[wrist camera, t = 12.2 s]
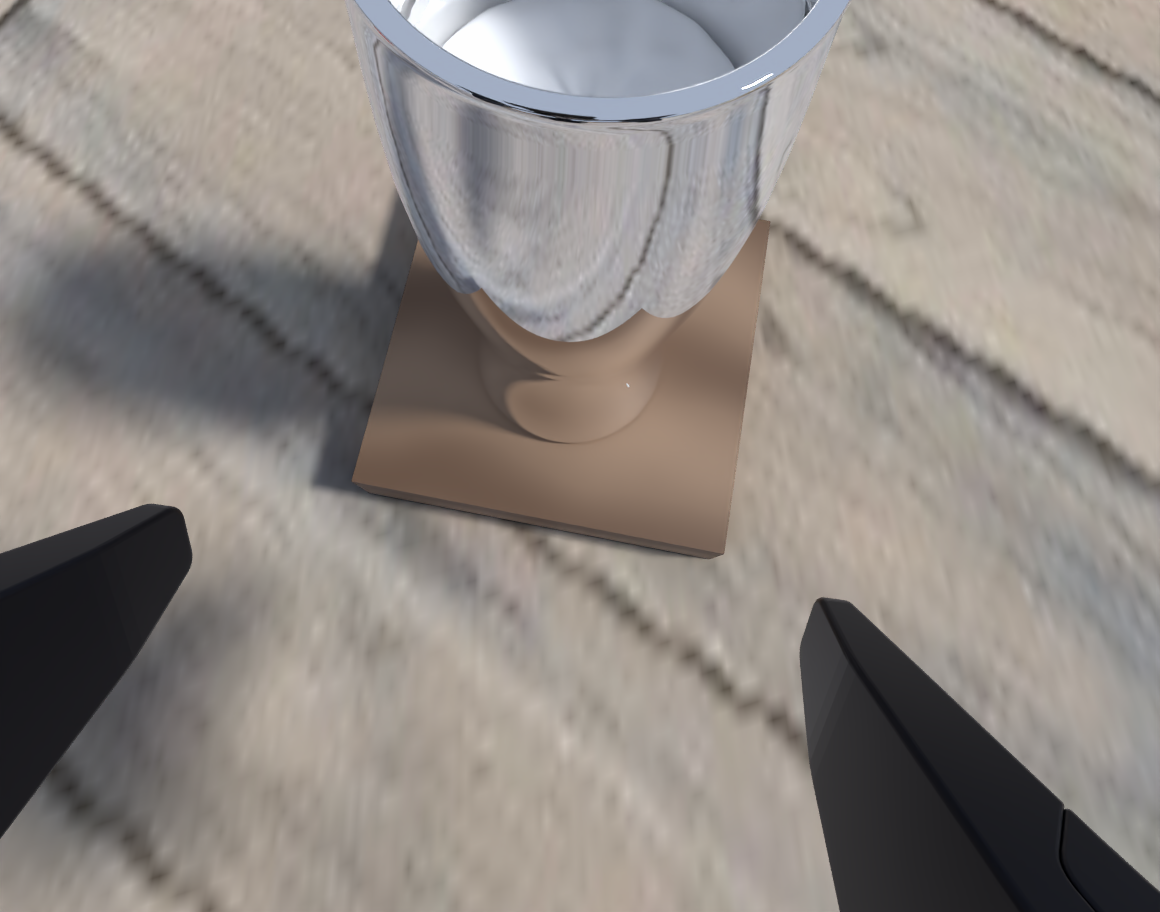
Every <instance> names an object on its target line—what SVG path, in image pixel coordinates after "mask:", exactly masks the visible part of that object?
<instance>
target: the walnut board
mask: <svg viewBox="0 0 1160 912" xmlns="http://www.w3.org/2000/svg"><path fill="white" fill-rule="evenodd" d="M769 227H770V221H766V220H760V219H759V220H758V222H757V223H756V225H755V227H754V229H753V230H752V232H751V234H750V235H749V237H748V239H747V241H746V242H745V244H744V246H743V248H742V249H741V251H740V253H739V254H738V256H737V258H736V260H735V261H734V263H733V264H732V266H731V267H730V269H729V270H728V271H727V273H726V274H725V275H724V277H723V278H722V279H721V280H720V282H719V283H718V284H717V285H716V287H715V288H714V289H713V290H712V291H711V293H710V294H709V295H708V296H707V298H706V299H705V300H704V301H703V303H702V304H701V305H700V306H699V307H698V308H697V310H696V311H695V312H694V313H693V314H692V315H691V316H690V317H689V318H688V319H687V320H686V321H685V322H684V323H683V324H682V325H681V326H680V327H679V328H678V329H677V330H676V331H675V332H674V333H673V334H672V335H671V336H670V337H669V338H668V339H667V340H666V341H665V342H664V343H663V344H662V369H661V374H660V377H659V381H658V384H657V387H656V389H655V391H654V393H653V395H652V397H651V399H650V401H649V402H648V404H647V405H646V406H645V408H644V409H643V410H642V411H641V413H640V414H639V415H638V416H637V417H636V418H635V419H634V420H633V421H631V422H630V423H629V424H628V425H626V426H625V427H623V428H622V429H620V430H618V431H617V432H615V433H613V434H611V435H608V436H606V437H603V438H600V439H597V440H593V441H588V442H580V443H562V442H555V441H550V440H546V439H542V438H540V437H537V436H534V435H532V434H530V433H528V432H526V431H524V430H522V429H521V428H519V427H518V426H516V425H515V424H513V423H512V422H511V421H510V420H509V419H507V418H506V417H505V416H504V415H503V414H502V413H501V412H500V410H499V409H498V408H497V407H496V405H495V404H494V403H493V401H492V400H491V398H490V396H489V394H488V393H487V390H486V388H485V386H484V383H483V380H482V377H481V372H480V367H479V359H478V348H479V337H480V330H479V329H478V328H477V327H476V325H475V324H474V323H473V322H472V320H471V319H470V318H469V317H468V315H467V314H466V313H465V311H464V310H463V309H462V308H461V306H460V305H459V304H458V302H457V301H456V300H455V298H454V297H453V296H452V294H451V293H450V292H449V290H448V289H447V287H446V285H445V284H444V282H443V281H442V279H441V277H440V276H439V274H438V273H437V271H436V269H435V268H434V266H433V265H432V263H431V261H430V260H429V258H428V257H427V255H426V253H425V252H424V250H423V248H422V246H421V244H420V242H419V240H418V242H417V246H416V249H415V253H414V256H413V260H412V264H411V267H410V271H409V275H408V278H407V282H406V285H405V289H404V293H403V296H402V300H401V304H400V307H399V311H398V314H397V318H396V322H395V325H394V329H393V333H392V336H391V340H390V343H389V347H388V351H387V354H386V358H385V362H384V365H383V369H382V372H381V376H380V380H379V383H378V387H377V390H376V394H375V398H374V401H373V405H372V409H371V412H370V416H369V419H368V423H367V427H366V430H365V434H364V438H363V441H362V445H361V448H360V452H359V456H358V459H357V463H356V467H355V470H354V474H353V477H352V482H353V483H355V484H356V485H358V486H359V487H361V488H362V489H364V490H365V491H367V492H368V493H374V494H379V495H384V496H389V497H394V498H399V499H404V500H409V501H415V502H420V503H425V504H430V505H435V506H440V507H445V508H450V509H456V510H461V511H466V512H471V513H476V514H481V515H486V516H492V517H497V518H502V519H507V520H512V521H517V522H522V523H527V524H533V525H538V526H543V527H548V528H553V529H558V530H563V531H568V532H574V533H579V534H584V535H589V536H594V537H599V538H604V539H609V540H615V541H620V542H625V543H630V544H635V545H640V546H645V547H650V548H656V549H661V550H666V551H671V552H676V553H681V554H686V555H692V556H697V557H702V558H707V559H711V558H714V557H717V556H720V555H723V554H724V551H725V544H726V536H727V529H728V522H729V515H730V508H731V501H732V493H733V486H734V479H735V472H736V465H737V457H738V450H739V443H740V436H741V429H742V421H743V414H744V407H745V400H746V393H747V385H748V378H749V371H750V364H751V357H752V350H753V342H754V335H755V328H756V321H757V314H758V306H759V299H760V292H761V285H762V278H763V270H764V263H765V256H766V249H767V242H768V235H769Z"/></svg>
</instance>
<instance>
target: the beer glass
mask: <svg viewBox="0 0 1160 912" xmlns="http://www.w3.org/2000/svg"><path fill="white" fill-rule="evenodd" d="M851 1H852V0H345V4H346V8H347V12H348V16H349V21H350V25H351V29H352V33H353V38H354V42H355V46H356V50H357V55H358V59H359V63H360V67H361V71H362V75H363V79H364V83H365V86H366V90H367V94H368V98H369V102H370V105H371V109H372V113H373V117H374V121H375V124H376V127H377V131H378V134H379V137H380V140H381V143H382V146H383V149H384V153H385V156H386V159H387V162H388V165H389V168H390V171H391V174H392V177H393V181H394V183H395V186H396V189H397V191H398V194H399V196H400V198H401V201H402V203H403V205H404V208H405V210H406V212H407V215H408V217H409V219H410V222H411V224H412V226H413V229H414V231H415V233H416V236H417V238H418V240H419V242H420V244H421V246H422V248H423V250H424V252H425V253H426V255H427V257H428V258H429V260H430V261H431V263H432V265H433V266H434V268H435V269H436V271H437V273H438V274H439V276H440V277H441V279H442V281H443V282H444V284H445V285H446V287H447V289H448V290H449V292H450V293H451V294H452V296H453V297H454V298H455V300H456V301H457V302H458V304H459V305H460V306H461V308H462V309H463V310H464V311H465V313H466V314H467V315H468V317H469V318H470V319H471V320H472V322H473V323H474V324H475V325H476V327H477V328H478V329H479V330H480V337H479V348H478V359H479V367H480V372H481V377H482V380H483V383H484V386H485V388H486V390H487V393H488V394H489V396H490V398H491V400H492V401H493V403H494V404H495V405H496V407H497V408H498V409H499V410H500V412H501V413H502V414H503V415H504V416H505V417H506V418H507V419H509V420H510V421H511V422H512V423H513V424H515V425H516V426H518V427H519V428H521V429H522V430H524V431H526V432H528V433H530V434H532V435H534V436H537V437H540V438H542V439H546V440H550V441H555V442H562V443H580V442H588V441H593V440H597V439H600V438H603V437H606V436H608V435H611V434H613V433H615V432H617V431H618V430H620V429H622V428H623V427H625V426H626V425H628V424H629V423H630V422H631V421H633V420H634V419H635V418H636V417H637V416H638V415H639V414H640V413H641V411H642V410H643V409H644V408H645V406H646V405H647V404H648V402H649V401H650V399H651V397H652V395H653V393H654V391H655V389H656V387H657V384H658V381H659V377H660V374H661V369H662V344H663V343H664V342H665V341H666V340H667V339H668V338H669V337H670V336H671V335H672V334H673V333H674V332H675V331H676V330H677V329H678V328H679V327H680V326H681V325H682V324H683V323H684V322H685V321H686V320H687V319H688V318H689V317H690V316H691V315H692V314H693V313H694V312H695V311H696V310H697V308H698V307H699V306H700V305H701V304H702V303H703V301H704V300H705V299H706V298H707V296H708V295H709V294H710V293H711V291H712V290H713V289H714V288H715V287H716V285H717V284H718V283H719V282H720V280H721V279H722V278H723V277H724V275H725V274H726V273H727V271H728V270H729V269H730V267H731V266H732V264H733V263H734V261H735V260H736V258H737V256H738V254H739V253H740V251H741V249H742V248H743V246H744V244H745V242H746V241H747V239H748V237H749V235H750V234H751V232H752V230H753V229H754V227H755V225H756V223H757V222H758V220H759V218H760V216H761V215H762V213H763V211H764V209H765V207H766V205H767V203H768V200H769V198H770V196H771V194H772V192H773V189H774V187H775V185H776V183H777V181H778V179H779V176H780V174H781V172H782V170H783V168H784V166H785V163H786V161H787V159H788V157H789V155H790V152H791V150H792V147H793V145H794V142H795V140H796V137H797V135H798V132H799V130H800V127H801V125H802V122H803V120H804V117H805V114H806V112H807V109H808V107H809V104H810V102H811V99H812V97H813V94H814V91H815V88H816V86H817V83H818V80H819V77H820V75H821V72H822V69H823V66H824V64H825V61H826V58H827V55H828V53H829V50H830V47H831V45H832V42H833V40H834V37H835V35H836V32H837V29H838V27H839V24H840V22H841V19H842V17H843V15H844V13H845V11H846V10H847V8H848V6H849V4H850V3H851Z"/></svg>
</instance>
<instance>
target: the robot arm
mask: <svg viewBox="0 0 1160 912" xmlns="http://www.w3.org/2000/svg"><path fill="white" fill-rule="evenodd" d="M191 563H192V549H191V545H190V541H189V537H188V533H187V528H186V524H185V520H184V516H183V514H182V512H181V511H180V510H179V509H178V508H176V507H172V506H165V505H158V504H146V505H142V506H139V507H136V508H133V509H130V510H127V511H124V512H122V513H119V514H116V515H113V516H110V517H107V518H104V519H101V520H98V521H95V522H92V523H89V524H86V525H83V526H80V527H77V528H74V529H71V530H68V531H65V532H62V533H60V534H57V535H54V536H51V537H48V538H45V539H42V540H39V541H36V542H33V543H30V544H27V545H24V546H21V547H18V548H15V549H12V550H9V551H6V552H3V553H1V554H0V839H1V837H2V836H3V835H4V833H5V832H6V831H7V829H8V828H9V827H10V825H11V824H12V823H13V821H14V820H15V819H16V817H17V816H18V815H19V813H20V812H21V811H22V809H23V808H24V807H25V805H26V804H27V803H28V801H29V800H30V799H31V797H32V796H33V795H34V793H35V792H36V791H37V789H38V788H39V787H40V785H41V784H42V783H43V781H44V780H45V779H46V777H47V776H48V775H49V773H50V772H51V771H52V769H53V768H54V767H55V765H56V764H57V763H58V761H59V760H60V759H61V757H62V756H63V755H64V753H65V752H66V751H67V749H68V748H69V747H70V745H71V744H72V743H73V741H74V740H75V739H76V737H77V736H78V735H79V733H80V732H81V731H82V730H83V728H84V727H85V726H86V724H87V723H88V722H89V720H90V719H91V718H92V716H93V715H94V714H95V712H96V711H97V710H98V708H99V707H100V706H101V704H102V703H103V702H104V700H105V699H106V698H107V696H108V695H109V694H110V692H111V691H112V690H113V688H114V687H115V686H116V684H117V683H118V682H119V680H120V679H121V678H122V676H123V675H124V674H125V672H126V671H127V669H128V668H129V667H130V665H131V664H132V662H133V661H134V659H135V658H136V656H137V655H138V653H139V652H140V650H141V649H142V647H143V646H144V644H145V642H146V641H147V639H148V637H149V636H150V634H151V632H152V631H153V629H154V627H155V626H156V624H157V622H158V621H159V619H160V618H161V616H162V614H163V613H164V611H165V609H166V608H167V606H168V604H169V603H170V601H171V599H172V598H173V596H174V594H175V593H176V591H177V590H178V588H179V586H180V585H181V583H182V581H183V580H184V578H185V576H186V575H187V573H188V571H189V569H190V566H191ZM800 668H801V679H802V691H803V702H804V713H805V724H806V735H807V746H808V755H809V764H810V769H811V775H812V780H813V785H814V790H815V795H816V800H817V804H818V809H819V814H820V819H821V824H822V828H823V833H824V838H825V843H826V848H827V852H828V857H829V862H830V867H831V871H832V876H833V881H834V886H835V891H836V895H837V900H838V905H839V910H840V912H1160V891H1159V890H1158V889H1156V888H1155V887H1154V886H1153V885H1152V884H1151V883H1149V882H1148V881H1147V880H1146V879H1145V878H1144V877H1143V876H1142V875H1141V874H1140V873H1139V872H1137V871H1136V870H1135V869H1134V868H1133V867H1132V866H1131V865H1130V864H1129V863H1128V862H1126V861H1125V860H1124V859H1123V858H1122V857H1121V856H1120V855H1119V854H1118V853H1117V852H1116V851H1114V850H1113V849H1112V848H1111V847H1110V846H1109V845H1108V844H1107V843H1106V842H1105V841H1103V840H1102V839H1101V838H1100V837H1099V836H1098V835H1097V834H1096V833H1095V832H1094V831H1093V830H1092V829H1091V828H1090V827H1089V826H1087V825H1086V824H1085V823H1084V822H1083V821H1082V820H1081V819H1080V818H1079V817H1078V816H1077V815H1076V814H1075V813H1074V812H1073V811H1072V810H1070V809H1064V804H1063V802H1062V801H1061V800H1060V799H1059V798H1057V797H1056V796H1055V795H1054V794H1053V793H1052V792H1051V791H1050V790H1049V789H1048V788H1047V787H1046V786H1045V785H1044V784H1043V783H1042V782H1041V781H1039V780H1038V779H1037V778H1036V777H1035V776H1034V775H1033V774H1032V773H1031V772H1030V771H1029V770H1028V769H1027V768H1026V767H1025V766H1024V765H1022V764H1021V763H1020V762H1019V761H1018V760H1017V759H1016V758H1015V757H1014V756H1013V755H1012V754H1011V753H1010V752H1009V751H1008V750H1007V749H1006V748H1004V747H1003V746H1002V745H1001V744H1000V743H999V742H998V741H997V740H996V739H995V738H994V737H993V736H992V735H991V734H990V733H989V732H987V731H986V730H985V729H984V728H983V727H982V726H981V725H980V724H979V723H978V722H977V721H976V720H975V719H974V718H973V717H972V716H971V715H969V714H968V713H967V712H966V711H965V710H964V709H963V708H962V707H961V706H960V705H959V704H958V703H957V702H956V701H955V700H954V699H952V698H951V697H950V696H949V695H948V694H947V693H946V692H945V691H944V690H943V689H942V688H941V687H940V686H939V685H938V684H937V683H936V682H934V681H933V680H932V679H931V678H930V677H929V676H928V675H927V674H926V673H925V672H924V671H923V670H922V669H921V668H920V667H919V666H918V665H916V664H915V663H914V662H913V661H912V660H911V659H910V658H909V657H908V656H907V655H906V654H905V653H904V652H903V651H902V650H901V649H899V648H898V647H897V646H896V645H895V644H894V643H893V642H892V641H891V640H890V639H889V638H888V637H887V636H886V635H885V634H884V633H883V632H881V631H880V630H879V629H878V628H877V627H876V626H875V625H874V624H873V623H872V622H871V621H870V620H869V619H868V618H867V617H866V616H864V615H863V614H862V613H861V612H860V611H859V610H858V609H857V608H856V607H855V606H854V605H853V604H851V603H850V602H848V601H845V600H839V599H832V598H824V597H821V598H819V599H817V600H816V602H815V603H814V605H813V608H812V611H811V614H810V617H809V620H808V623H807V626H806V629H805V632H804V635H803V638H802V641H801V645H800Z"/></svg>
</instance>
